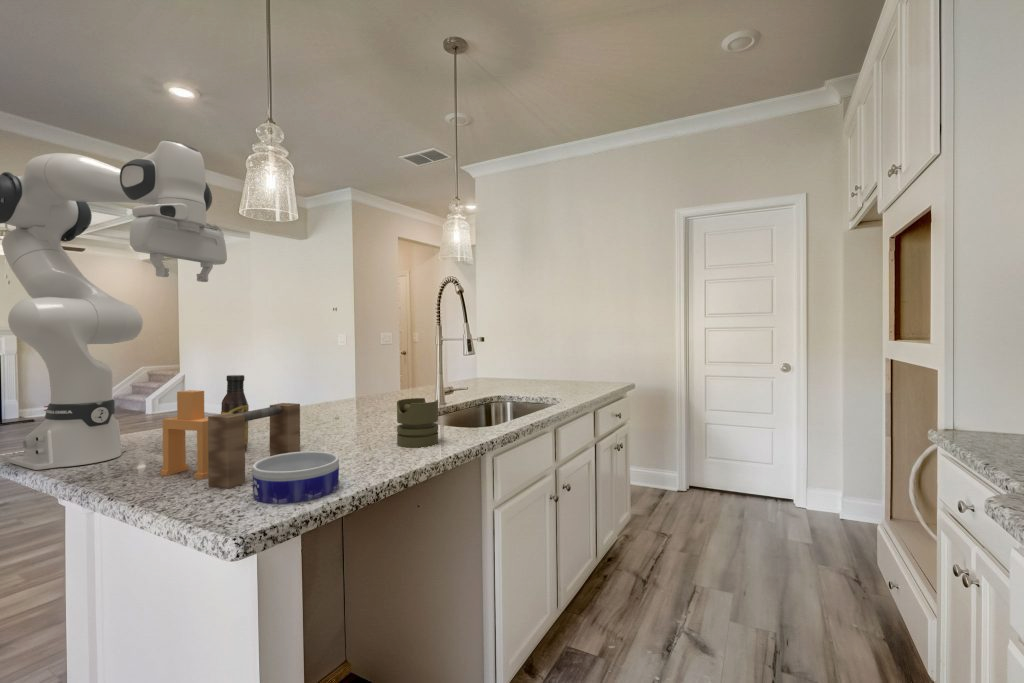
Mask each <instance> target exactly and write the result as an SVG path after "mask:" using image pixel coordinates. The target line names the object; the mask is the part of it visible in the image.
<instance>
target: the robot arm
mask: <svg viewBox="0 0 1024 683" xmlns="http://www.w3.org/2000/svg"><path fill="white" fill-rule="evenodd" d="M88 203H126V204H127V203H131V204H132V203H134V204H135V203H136V204H141V205H138V206H134V207H133V208H131V209H132V211H131V212H132V216H133V217H134V218H133V219H131V223H130V228H129V245H130V247H131V248H132V250H133V251H134V252H137V253H142V254H148V255H149V260H150V262H151V263H152V265H153V267H154V268H155V275H156V277H160V278H168V277H169V276H170V273H169V272H170V268H168V267H167V268H166V266H165V264H164V262H163V261H162V260H164V259H165V257H167V258H173V259H179V260H185V261H190V262H194V263H195V262H196V263H199V264H200V268H202V269H201V271H200V272H199V273H196V281H197V282H201V283H208V282H209V274H210V273H211V271H212V270H213V267H214V266H216V265H218V266H220V265H225V264H226V262H227V261H228V255H227V252H228V251H227V247H226V246H227V245H226V240H225V237H224V236H225V235H224V232H223V231H222V230H221V229H220V228H219V226H217V225H214V224H210V223H207V211H208V210H209V209H210V208H211V206H212V203H213V194H212V191H211V188H210V186H209V184H208V183H207V180H206V168H205V162H204V157H203V156H202V153H201V152H200V151H199V150H198V149H197V148H194V147H193V146H191V145H188V144H186V143H182V142H179V141H176V140H168V139H167V140H161V141H160V142H159V143H158V145H157V147H156V149H155V150H154V151H153V152H151V153H150V154H148V155H146V156H144V157H141V158H134V159H132V160H130V161H128V162H126V163H124V165H123V166H122V167H121V168H118V167H117V166H114V165H111V164H108V163H106V162H103V161H101V160H98V159H96V158H93V157H90V156H87V155H82V154H77V153H72V152H71V153H70V152H69V153H67V152H53V153H45V154H41V155H38V156H35V157H33V158H31V159H30V160H29V161H28V162H27V163H26V165H25V169H24V173H23V174H22V175H19V176H16V175H14V174H13V173H12V172H9V171H4V172H2V173H1V174H0V224H1V225H2V224H6V225H9V226H12V227H15V228H14V229H12V230H10V231H8V232H7V233H6V234H5V235H4V236H3V238H2V241H1V247H2V251H3V254H4V256H5V260H6V261H7V263H8V266H9V267H10V269H11V270H12V272H13V274H14V275H15V277H16V278H17V280H18V281H19V283H20V284H21V286H22V287H23V288H24V289H23V290H25V291H26V294H27V295H28V296H29V297H30V298H24V299H21V300H19V301H18V302H16V303H15V304H14V305H13V307H12V308H11V309H10V311H9V313H8V318H7V323H8V327H9V330H10V331H11V332H12V333H13V335H14V336H15V337H16V338H17V339H18V340H20V341H22V342H24V343H25V344H27V345H29V346H30V347H31V348H33V349H34V350H35V352H37V353H38V355H39V356H40V358H41V359H42V360H43V361H44V363H45V366H46V369H47V371H48V376H49V377H48V378H49V388H50V389H49V390H50V391H49V392H50V403H49V404H48V405H45V406H43V408H46V409H44V410H43V411H44V412H45V415H44V419H45V420H44V421H43V422H41V423H40V424H39V425H38V426H37V427H35V429H33V430H32V431H31V432H29V434H27V435H26V436H25V439H23V441H22V449H23V454H21V455H17V456H14V457H11V458H10V459H9V464H13V465H16V466H20V467H23V468H27V469H31V470H34V471H36V470H37V471H39V470H46V469H54V468H65V467H75V466H76V467H77V466H81V465H82V466H83V465H90V464H96V463H100V462H105V461H109V460H112V459H116V458H119V457H121V456H122V453H124V452H126V447H125V446H122V438H121V431H120V423H119V420H118V419H116V418H115V416H114V414H115V413H116V404H115V399H113V371H112V369H111V367H110V366H109V365H108V364H106V363H105V362H103V361H101V360H98V359H95V358H94V357H93V356H92V354H91V353H90V351H89V349H88V345H113V344H114V345H115V344H119V343H124V342H128V341H133V340H134V339H135V340H136V338H137V337H138V336H139V335H140V334H141V331H142V329H143V326H144V325H143V323H144V322H143V321H144V320H143V317H142V314H141V313H140V311H139V310H138V308H136V307H135V306H134V305H131V304H128V303H125V302H123V301H120V300H119V299H117V298H115V297H113V296H112V295H110V294H108V293H107V292H105V291H103V290H102V289H101V288H99V287H98V286H97V285H95V284H94V283H92V282H91V281H90V280H89V279H88V278H86V276H85V275H84V274H83V273H82V272H81V270H80V269H79V267H77V265H76V264H75V263H74V261H73V260H72V259H71V257H70V256H69V254H68V253H67V252H66V251H65V249H64V248H63V246H62V243H61V242H64V243H65V242H71V241H73V240H74V239H75V238H76V237H78V236H80V235H82V234H83V233H84V232H86V230H88V228H89V227H90V225H91V223H92V218H93V217H92V216H93V215H92V211H91V208H90V206H89V204H88ZM142 204H143V205H142Z"/></svg>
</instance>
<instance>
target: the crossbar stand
mask: <svg viewBox="0 0 1024 683" xmlns="http://www.w3.org/2000/svg"><path fill="white" fill-rule="evenodd" d="M207 418H208V477H207V479H208V482H207V483H208V488H216V489H226V490H229V489H232V488H234V487H238V486H240V485H243V484H245V483H246V450H245V422H246V421H248V422H249V421H254V420H258V419H264V418H269V443H270V446H269V457H270V456H274V455H279V454H285V453H293V452H301V404H300V403H294V402H293V403H292V402H291V403H289V402H280V403H275V404H269V407H264V408H260V409H255V410H248V411H247V412H242V413H237V414H227V413H225V414H221V413H220V414H215V415H210V416H207Z"/></svg>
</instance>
